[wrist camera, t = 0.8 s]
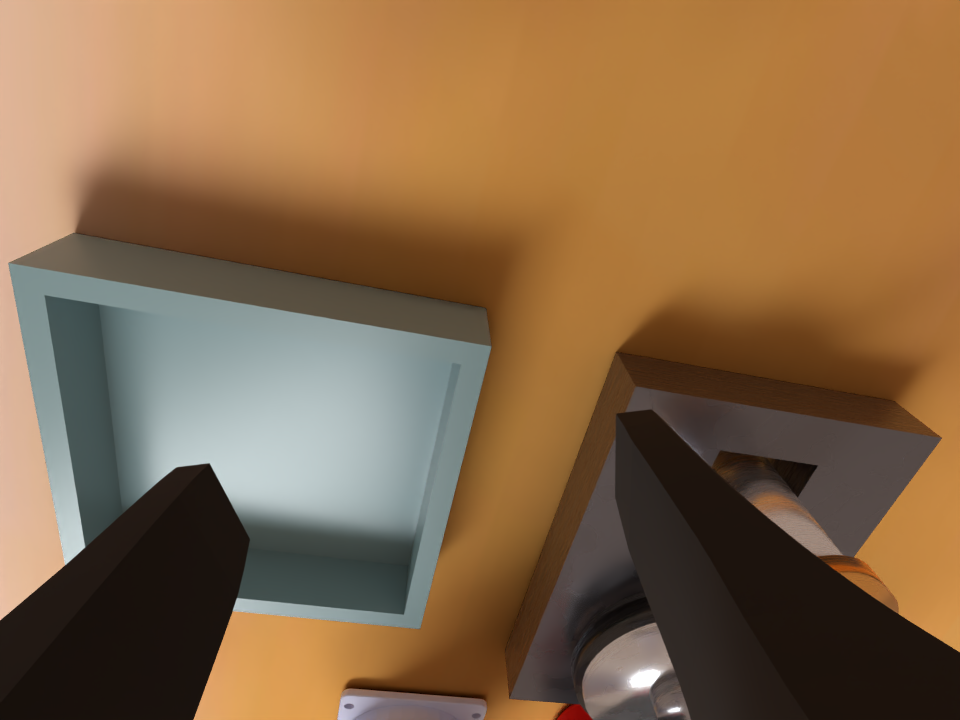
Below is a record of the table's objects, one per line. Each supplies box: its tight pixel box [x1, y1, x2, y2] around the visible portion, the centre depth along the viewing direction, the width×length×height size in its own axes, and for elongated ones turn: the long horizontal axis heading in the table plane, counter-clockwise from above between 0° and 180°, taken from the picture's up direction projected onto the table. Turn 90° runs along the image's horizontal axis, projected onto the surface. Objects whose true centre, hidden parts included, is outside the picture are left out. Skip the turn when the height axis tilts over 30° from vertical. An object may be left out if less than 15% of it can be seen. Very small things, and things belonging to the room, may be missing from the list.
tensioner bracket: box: [505, 352, 942, 720], centre depth 23 cm, size 18×12×6 cm, turn 168°
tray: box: [8, 233, 492, 629], centre depth 21 cm, size 14×14×3 cm
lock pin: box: [712, 450, 898, 613], centre depth 20 cm, size 4×4×8 cm
